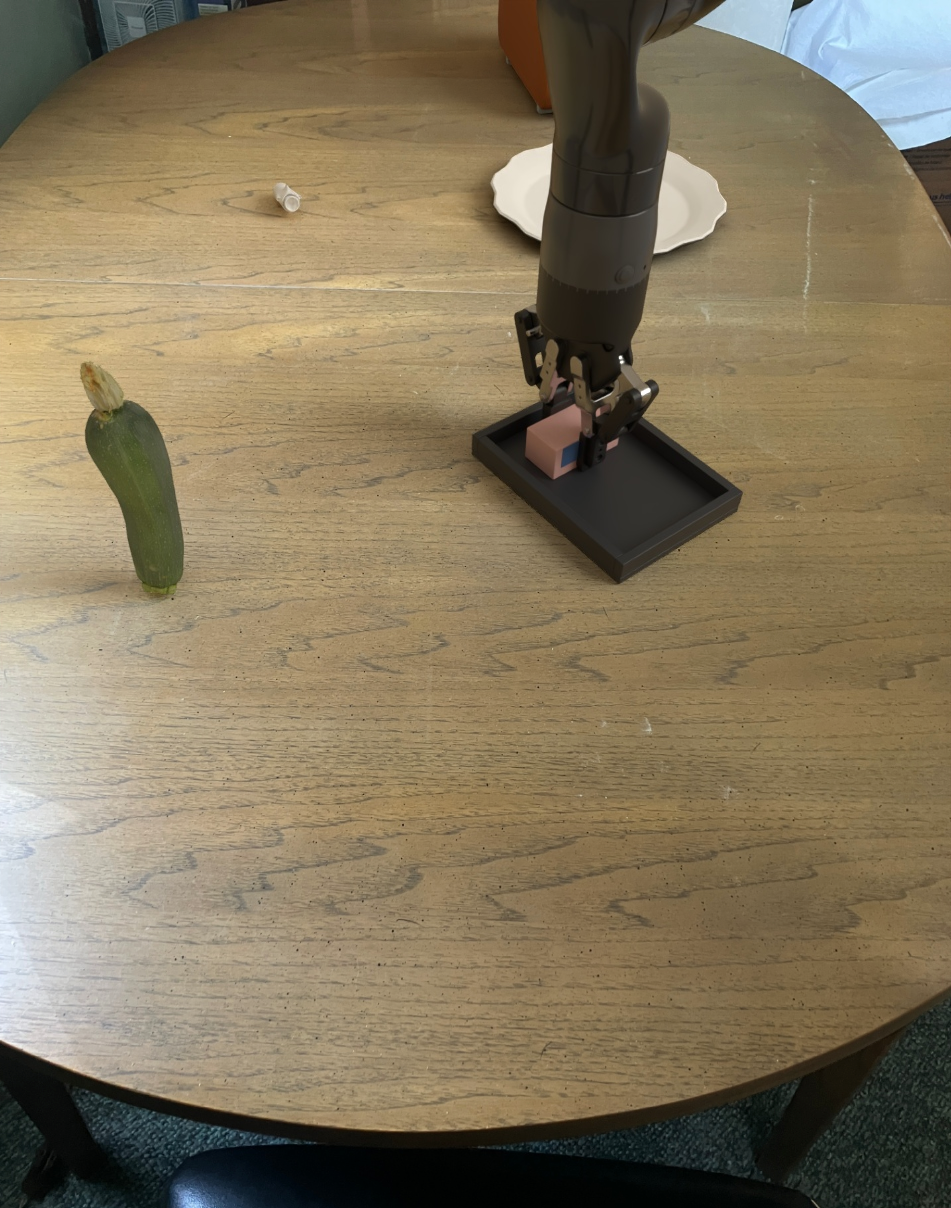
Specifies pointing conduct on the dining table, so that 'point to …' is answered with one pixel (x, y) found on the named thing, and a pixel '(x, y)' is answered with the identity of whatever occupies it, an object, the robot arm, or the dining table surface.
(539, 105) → the alarm clock
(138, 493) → the vegetable
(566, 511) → the tray
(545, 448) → the eraser
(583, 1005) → the dining table surface
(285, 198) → the small white plastic part
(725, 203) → the plate
